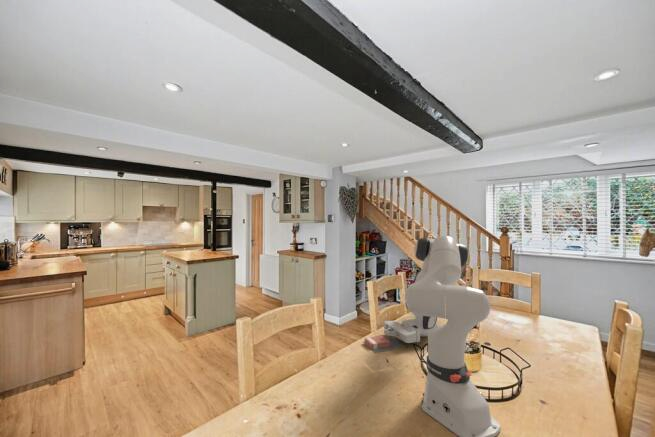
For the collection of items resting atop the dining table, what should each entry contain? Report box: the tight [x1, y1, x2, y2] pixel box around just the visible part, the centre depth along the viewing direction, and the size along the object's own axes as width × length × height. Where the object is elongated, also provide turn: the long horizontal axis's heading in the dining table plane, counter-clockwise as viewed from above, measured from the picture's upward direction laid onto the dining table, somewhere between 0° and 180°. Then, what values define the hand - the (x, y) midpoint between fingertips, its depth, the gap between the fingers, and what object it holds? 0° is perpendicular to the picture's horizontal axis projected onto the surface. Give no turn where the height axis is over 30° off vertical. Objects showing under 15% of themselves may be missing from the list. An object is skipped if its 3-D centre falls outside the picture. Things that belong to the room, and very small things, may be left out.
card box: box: [364, 335, 390, 350], centre depth 129 cm, size 7×2×10 cm
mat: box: [363, 336, 406, 354], centre depth 129 cm, size 12×17×1 cm
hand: (385, 332), depth 131 cm, fingers closed
